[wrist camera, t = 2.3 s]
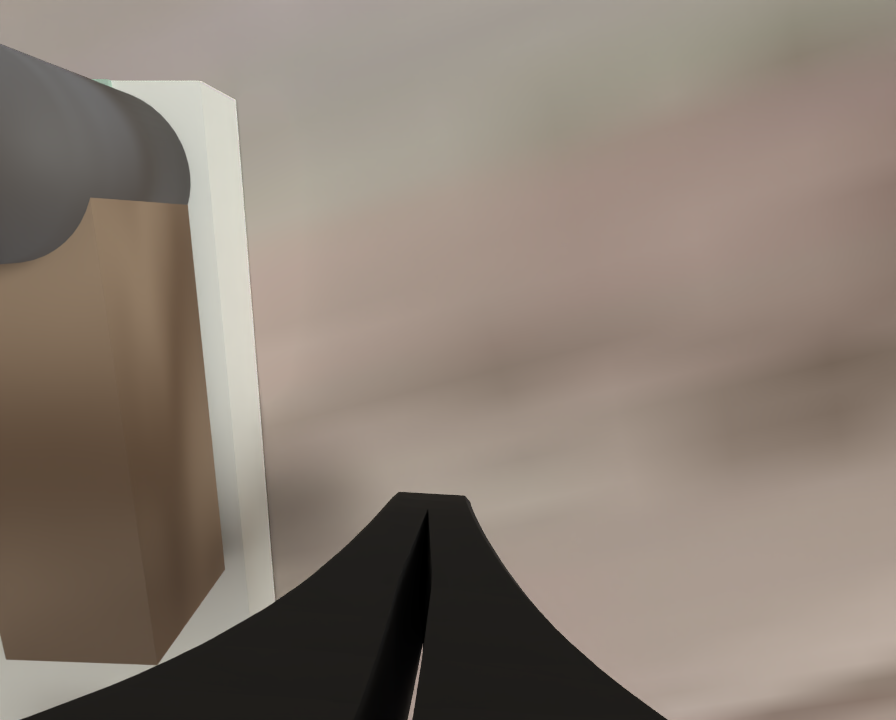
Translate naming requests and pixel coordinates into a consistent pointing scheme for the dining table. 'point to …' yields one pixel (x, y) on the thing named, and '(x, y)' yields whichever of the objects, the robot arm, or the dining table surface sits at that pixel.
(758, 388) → the dining table surface
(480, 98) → the dining table surface
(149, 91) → the stool seat
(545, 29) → the dining table surface
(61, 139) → the hammer
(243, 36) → the dining table surface
